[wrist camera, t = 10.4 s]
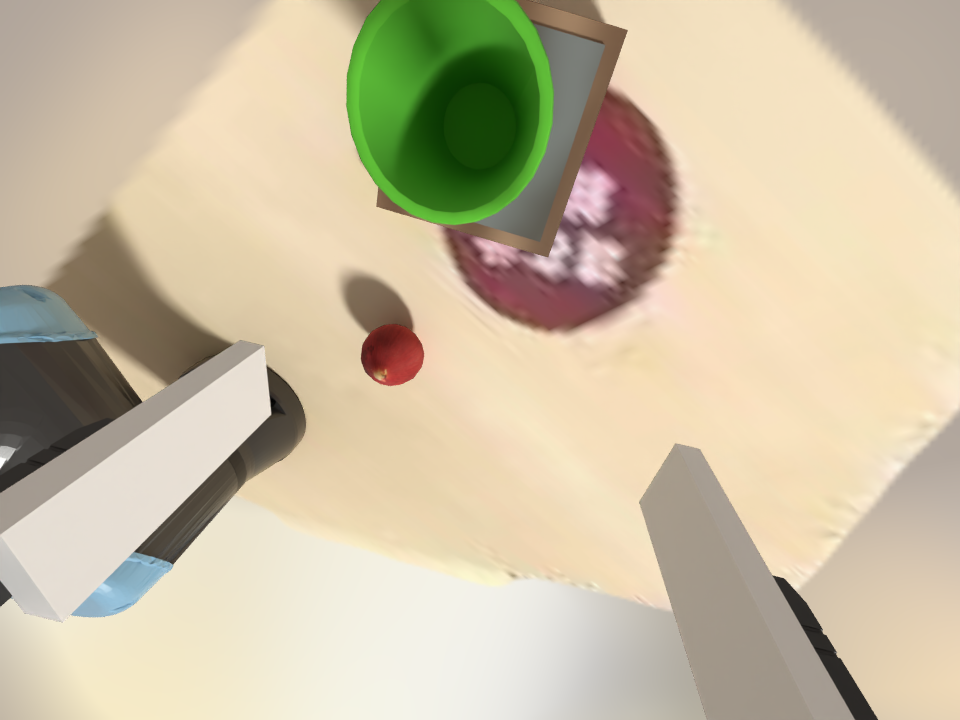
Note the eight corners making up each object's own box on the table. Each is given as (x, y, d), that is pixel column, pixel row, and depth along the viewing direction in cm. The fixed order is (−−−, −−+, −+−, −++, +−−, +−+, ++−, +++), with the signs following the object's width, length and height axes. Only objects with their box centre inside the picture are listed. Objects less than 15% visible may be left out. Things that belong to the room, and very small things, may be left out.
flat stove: (393, 200, 33) (374, 207, 29) (420, -13, 26) (400, -41, 22) (547, 246, 33) (548, 258, 29) (615, 46, 26) (628, 28, 22)
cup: (392, 87, 25) (302, 47, 15) (520, 11, 22) (507, -95, 13) (449, 219, 29) (404, 253, 19) (565, 168, 26) (581, 177, 16)
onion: (387, 364, 41) (356, 407, 34) (371, 315, 38) (334, 351, 31) (437, 359, 40) (416, 403, 33) (424, 309, 37) (398, 344, 30)
